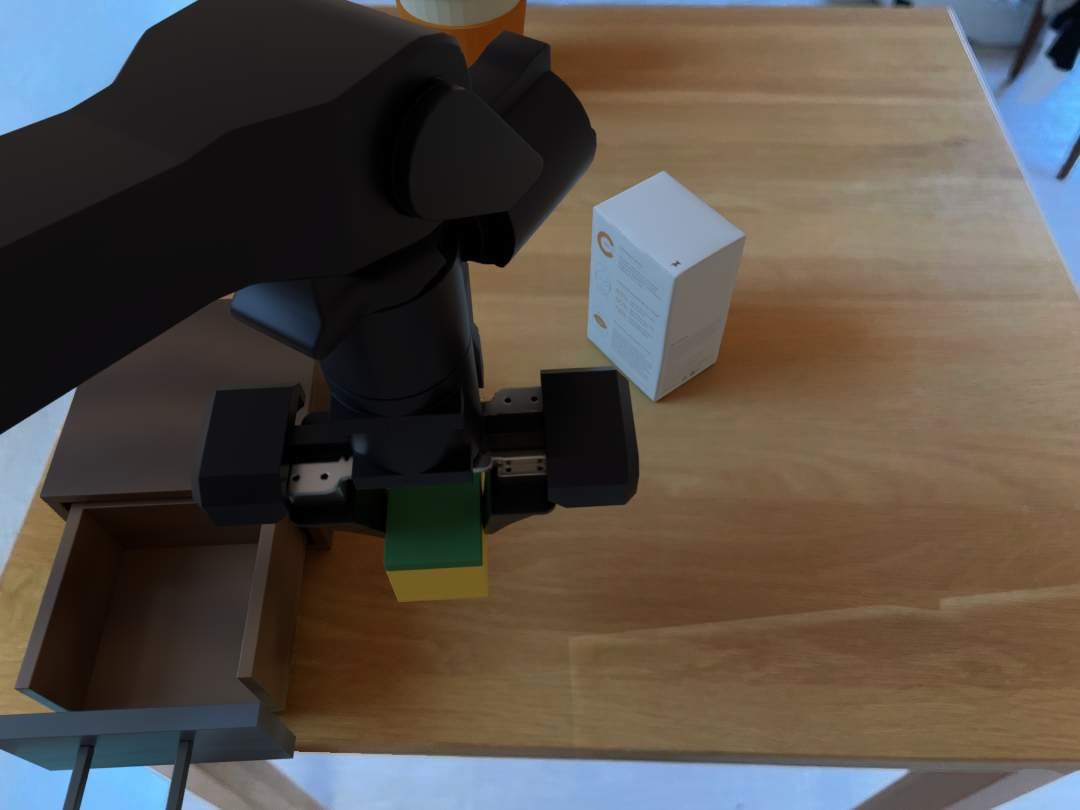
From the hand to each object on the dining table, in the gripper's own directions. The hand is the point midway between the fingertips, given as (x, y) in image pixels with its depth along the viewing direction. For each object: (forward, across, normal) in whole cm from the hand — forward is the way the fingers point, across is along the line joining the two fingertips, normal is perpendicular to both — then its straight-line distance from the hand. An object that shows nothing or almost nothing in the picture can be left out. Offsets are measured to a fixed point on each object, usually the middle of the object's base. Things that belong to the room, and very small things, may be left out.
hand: (442, 528), depth 44 cm
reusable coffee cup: (+11, -1, -54) cm, 55 cm away
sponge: (+1, 0, 0) cm, 1 cm away
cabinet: (+10, +16, -11) cm, 22 cm away
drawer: (+9, +16, +4) cm, 19 cm away
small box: (+11, -14, -19) cm, 26 cm away
